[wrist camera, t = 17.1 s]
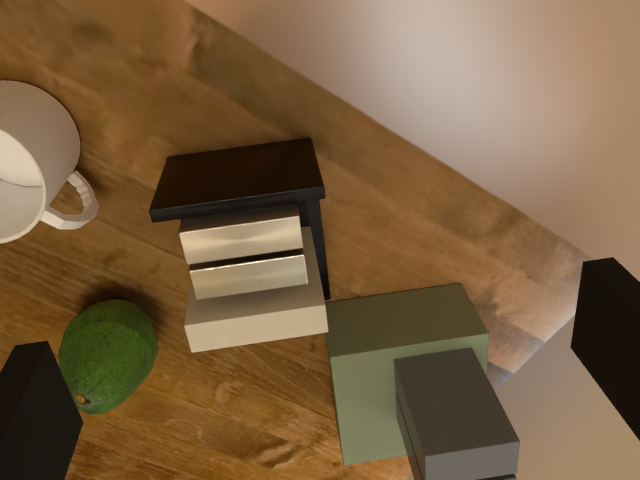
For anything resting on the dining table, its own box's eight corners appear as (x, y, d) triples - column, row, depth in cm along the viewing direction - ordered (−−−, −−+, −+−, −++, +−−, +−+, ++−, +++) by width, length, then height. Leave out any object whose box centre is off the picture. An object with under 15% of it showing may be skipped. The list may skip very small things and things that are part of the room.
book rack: (311, 137, 48) (327, 198, 38) (329, 293, 56) (347, 379, 46) (167, 156, 48) (143, 223, 37) (206, 311, 56) (196, 402, 45)
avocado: (136, 268, 52) (107, 355, 42) (178, 330, 56) (161, 424, 46) (59, 300, 53) (12, 393, 43) (105, 358, 57) (73, 457, 47)
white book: (310, 225, 51) (325, 305, 41) (313, 249, 52) (328, 332, 42) (197, 241, 51) (183, 325, 40) (203, 265, 52) (191, 353, 41)
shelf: (460, 282, 57) (542, 426, 41) (458, 386, 64) (527, 544, 48) (320, 303, 56) (347, 456, 40) (333, 405, 63) (361, 571, 47)
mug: (-67, 127, 44) (-138, 174, 36) (13, 53, 42) (-43, 86, 34) (56, 232, 50) (18, 294, 42) (132, 171, 48) (109, 223, 40)
